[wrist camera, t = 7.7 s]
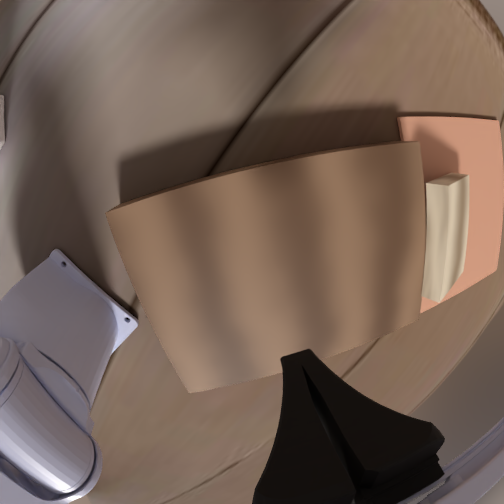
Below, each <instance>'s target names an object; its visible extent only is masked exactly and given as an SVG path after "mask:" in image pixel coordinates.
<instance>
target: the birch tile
mask: <svg viewBox="0 0 504 504" xmlns="http://www.w3.org/2000/svg"><path fill="white" fill-rule="evenodd" d="M426 197H427V231H426V253H425V266H424V277H423V286H422V294H421V296H422V297H425V298H427V299H430V300H433V301H435V302H438V303H440V302H441V300H442V299H443V298H444V297H445V295H446V294H447V293H448V291H449V290H450V289H451V288H452V286H453V285H454V283H455V282H456V281H457V279H458V278H459V277H460V275H461V274H462V272H463V270H464V263H465V256H466V247H467V237H468V223H469V175H468V174H460V173H449V174H447V175H444V176H442V177H439V178H437V179H435V180H432V181H430V182H427V183H426Z"/></svg>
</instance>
